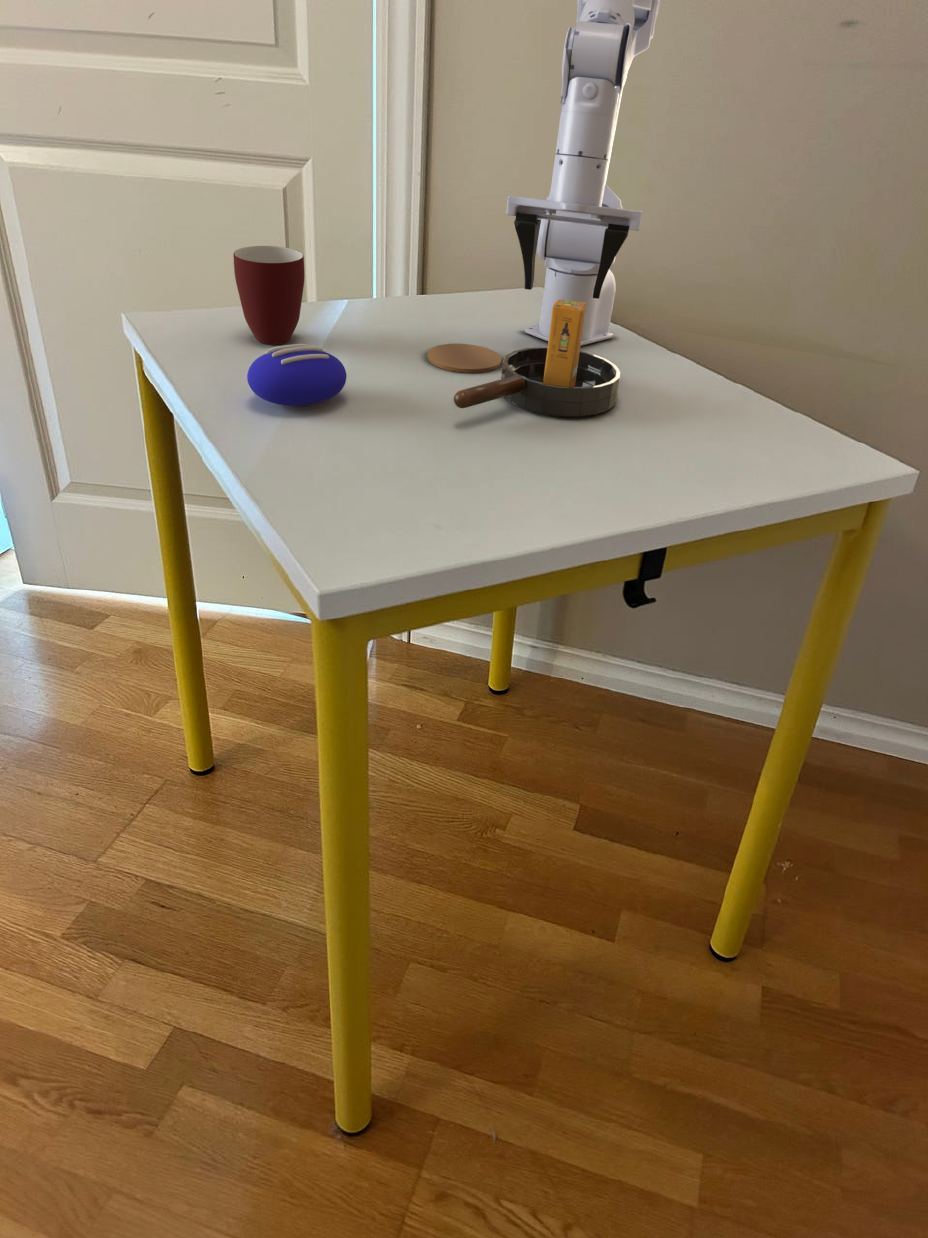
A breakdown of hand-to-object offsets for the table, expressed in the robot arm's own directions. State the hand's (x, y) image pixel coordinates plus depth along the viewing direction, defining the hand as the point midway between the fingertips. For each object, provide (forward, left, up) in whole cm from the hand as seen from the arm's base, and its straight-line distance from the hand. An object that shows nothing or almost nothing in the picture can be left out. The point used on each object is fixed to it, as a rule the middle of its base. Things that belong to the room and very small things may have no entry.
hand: (562, 293), depth 99 cm
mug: (+20, -28, -10) cm, 36 cm away
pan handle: (+15, +5, -8) cm, 18 cm away
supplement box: (+4, +5, -10) cm, 11 cm away
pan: (+4, +5, -10) cm, 12 cm away
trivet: (+5, -10, -10) cm, 15 cm away
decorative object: (+29, -10, -10) cm, 32 cm away
